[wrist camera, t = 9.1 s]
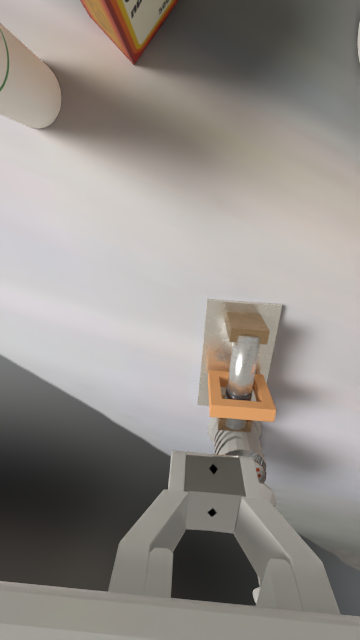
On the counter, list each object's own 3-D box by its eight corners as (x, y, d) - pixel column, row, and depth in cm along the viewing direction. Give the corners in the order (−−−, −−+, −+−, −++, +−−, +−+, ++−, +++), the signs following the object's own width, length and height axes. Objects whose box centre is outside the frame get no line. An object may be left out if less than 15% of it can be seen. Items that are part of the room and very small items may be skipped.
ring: (262, 374, 47) (276, 410, 39) (260, 384, 47) (273, 421, 39) (208, 370, 47) (211, 404, 39) (207, 380, 48) (209, 416, 40)
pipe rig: (280, 304, 44) (297, 324, 36) (260, 406, 51) (271, 441, 44) (207, 299, 44) (209, 318, 37) (197, 401, 51) (197, 435, 44)
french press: (273, 425, 52) (334, 602, 29) (234, 464, 56) (261, 646, 33) (228, 399, 51) (255, 565, 28) (192, 441, 55) (188, 616, 32)
